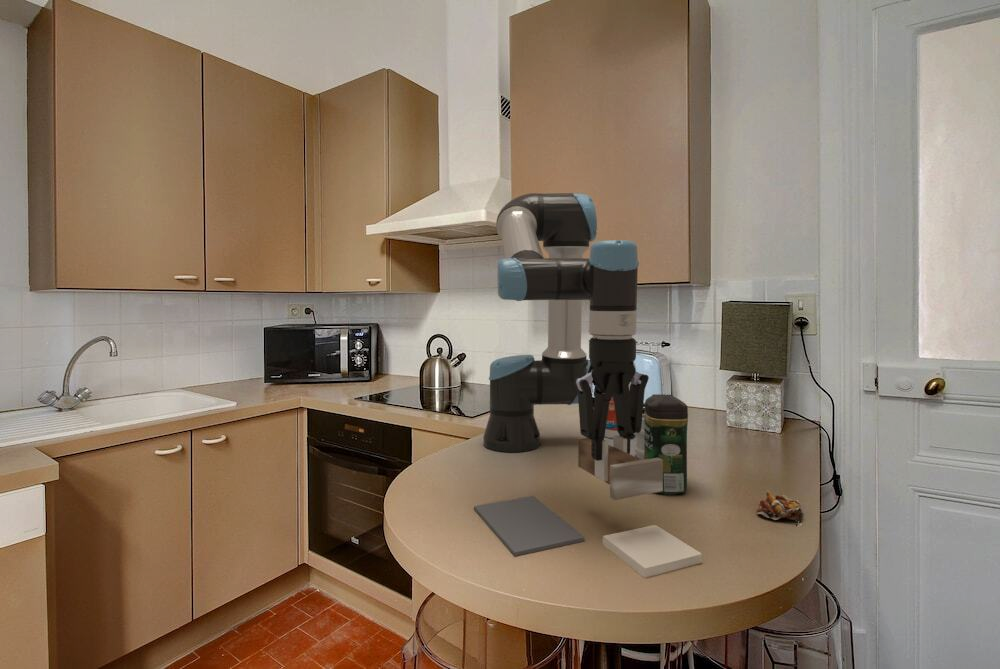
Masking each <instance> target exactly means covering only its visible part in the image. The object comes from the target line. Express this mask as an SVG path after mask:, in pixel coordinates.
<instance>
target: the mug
mask: <svg viewBox="0 0 1000 669" xmlns="http://www.w3.org/2000/svg"><path fill="white" fill-rule="evenodd" d="M644 422H645V413H644V414H642V425H641V431H640V432H639V433H636V434H637V435H636V445H635V447H634V453H636V455H635V457H637V458H639V459H641V460H644Z"/></svg>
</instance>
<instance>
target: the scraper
mask: <svg viewBox="0 0 1000 669" xmlns="http://www.w3.org/2000/svg"><path fill="white" fill-rule="evenodd" d="M577 440H578V446H577V447H578V448H577V449H578V450H577V451H578V456H577V460H578V461H577V462H578V464H577V467H579V468H580V469H582V470H584V471H585V472H586V473H587V472H588V474H591V475H592V476H594V477H596V476H595V459H593V458H592V456H591V450H592V449H591V439H589V438H587V437H584V438H579V439H577ZM596 478H598V477H596ZM598 479H599V478H598ZM601 481H603V480H601ZM603 482H604V483H606V484H607V485H609V498H610V499H612V500H613V501H618V500H624V499H629V498H635V497H639V496H644V495H649V494H656V493H658V492H661V491H663V460H662V459H660V458H652V459H646V460H641V459H639V458H638V457H637V456H636V455H635V456H634V455H633V454H631V453H630V454H628V453H626V452H624V451H621V450H619V449H617V448H615V447H613V446H612V445H610V444H608V481H603Z"/></svg>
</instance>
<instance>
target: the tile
mask: <svg viewBox="0 0 1000 669" xmlns="http://www.w3.org/2000/svg"><path fill="white" fill-rule="evenodd" d="M602 545H603V546H604V547H606V548H607V549H608V550H610V552H612V553H613V554H614V555H616V556H617V557H618V558H620V560H622V561H623V562H624V563H625V564H626V565H628V566H629V567H630V568H632V569H633V570H634V571H636V572H637V573H638V574H639V575H641V576H642V577H643V578H650V577H654V576H657V575H661V574H665V573H668V572H672V571H675V570H680V569H684V568H688V567H691V566H695V565H699V564H702V563H703V553H701V552H700V551H698V550H696V549H695V548H693V547H691V545H688V544H687V543H685V542H684V541H682V540H680V539H679V538H677V537H676V536H674V535H673V534H671V533H669V532H668V531H666V530H664V529H662V528H661V527H659V526H657V525H656V524H652V525H647V526H644V527H639V528H635V529H629V530H625V531H619V532H615V533H611V534H605V535H603V536H602Z"/></svg>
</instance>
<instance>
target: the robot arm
mask: <svg viewBox="0 0 1000 669" xmlns="http://www.w3.org/2000/svg"><path fill="white" fill-rule="evenodd" d="M597 218H598V217H597V212H596V206H595V204H594V201H593V199H592V198H591V197H590V195H589V194H588V195H587V194H585V193H584V194H583V193H575V192H567V193H566V192H565V193H561V192H559V193H558V192H557V193H554V192H553V193H551V192H550V193H549V192H548V193H535V192H534V193H531V192H530V193H526V194H521V195H519V196H516V197H515V198H512V200H509V201H508V202H507V203H506V204H505V205H504V206H503V207H502V208H501V209H500V211H499V213H498V215H497V217H496V220H495V221H496V224H495V225H496V226H495V227H496V233H497V235H498V238H500V240H501V241H502V244H503V247H502V248H503V252H504V258H502V259H499V261H498V263H497V280H496V282H497V295H498V297H499V298H500V299H501V300H505V301H517V302H522V301H548V307H547V308H548V309H547V310H548V312H547V313H548V315H547V316H548V318H547V319H548V320H547V323H548V324H547V347H546V348H545V349H544V350H543V351H542V353H541V359H539V360H535V357H534V355H532V354H524V355H523V354H519V355H511V356H505V357H501V358H497V359H495V360H493V361H492V362H491V363H490V365H489V366H490V367H489V377H488V380H489V417H488V420H487V424H486V426H485V430H484V433H483V446H484V447H485V448H487V449H489V450H493V451H496V452H502V453H504V452H505V453H521V452H528V451H532V450H535V449H537V448H539V447H541V434H540V430H539V427H538V424H537V421H536V418H535V405H536V406H537V405H538V406H541V405H567V406H572V405H578V414H579V431H580V435H581V436H583V437H584V438H589V439H591V449H592V450H591V456H592V458H593V459H595V476H594V477H596V478H597V477H598V479H599V480H601V481H602V480H603V482H604V481H608V445H609V441H607V440H605V438H606V437H605V430H606V422H607V415H608V408H609V402H610V400H611V399H612V396H613V397H614V405H615V413H616V422H617V430H618V434H619V435H614V439H613V447H615V448H617V449H619V450H621V451H624V452H626V453H628V454H630V455H631V440H635V438H636V434H637V433H639V432H640V431H641V425H642V415H643V413H644V404H645V391H646V386H647V384H648V382H649V378H650V377H649V376H648V375H647V374H643V373H640V372H638V371H637V368H636V369H635V367H634V363H635V361H636V359H637V340H636V338H634V337H633V336H635V335H636V334H637V312H638V311H637V310H638V308H637V304H638V303H637V302H638V274H639V273H638V269H639V268H638V267H639V265H640V264H639V259H638V256H639V255H638V246H637V244H636V243H635V242H634V241H632V240H624V239H616V240H615V239H613V240H608V239H607V240H600V241H595V242H594V240H596V238H597V233H598V232H597V231H598V219H597ZM540 242H542V248H541V246H540ZM590 242H594V243H592V244H591V246H590ZM542 249H543V250H544V251H545V252H546V253H547V254H548V257H546V258H545V257H544V254H543V251H542ZM588 250H590V251H589V258H587V257H585V258H584V257H583V256H584V254H585V253H586V252H587V251H588ZM583 301H589V311H588V312H589V315H588V316H589V320H588V333H589V335H591V336H592V337H590V339H589V340H588V356H587V353H586V352H585V351H584V350H583V349H582V313H583V311H582V310H583V309H582V307H583V306H582V305H583ZM588 358H589V359H588ZM633 362H634V363H633ZM630 382H631V385H630V391H629V384H630ZM593 386H594V390H593V392H592V389H593ZM603 393H604V394H603ZM593 397H594V399H593ZM628 398H629V400H628ZM593 400H594V401H593ZM634 433H635V435H634Z"/></svg>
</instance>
